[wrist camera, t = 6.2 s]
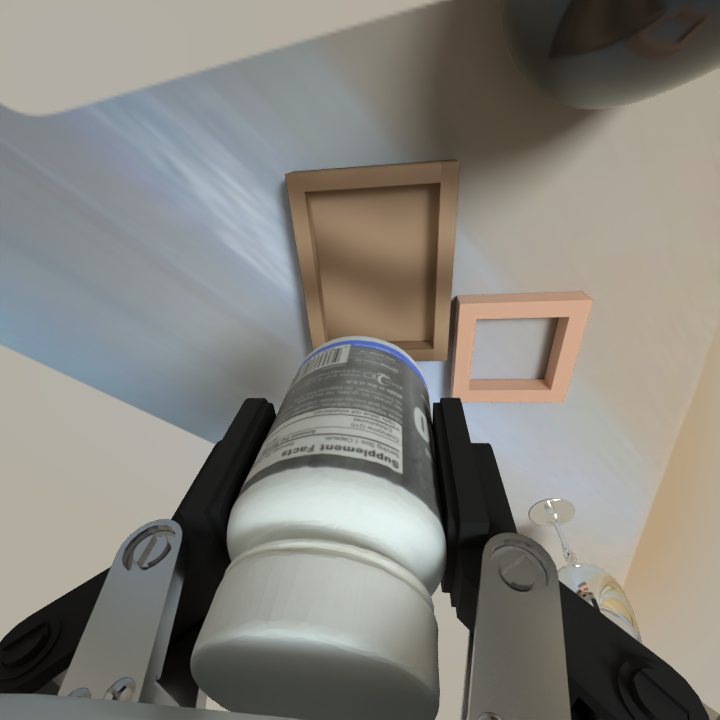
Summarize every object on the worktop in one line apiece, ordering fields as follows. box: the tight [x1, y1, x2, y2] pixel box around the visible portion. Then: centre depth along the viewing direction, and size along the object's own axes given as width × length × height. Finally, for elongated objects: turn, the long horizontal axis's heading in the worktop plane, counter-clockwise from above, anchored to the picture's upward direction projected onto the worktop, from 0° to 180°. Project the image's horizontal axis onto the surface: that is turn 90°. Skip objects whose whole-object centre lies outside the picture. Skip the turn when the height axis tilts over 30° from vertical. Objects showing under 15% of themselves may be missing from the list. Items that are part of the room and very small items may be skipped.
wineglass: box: [529, 499, 642, 644], centre depth 32 cm, size 6×6×12 cm
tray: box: [285, 160, 460, 361], centre depth 25 cm, size 13×10×2 cm
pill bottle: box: [190, 336, 447, 720], centre depth 9 cm, size 5×5×8 cm
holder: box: [450, 292, 593, 402], centre depth 27 cm, size 9×9×2 cm
